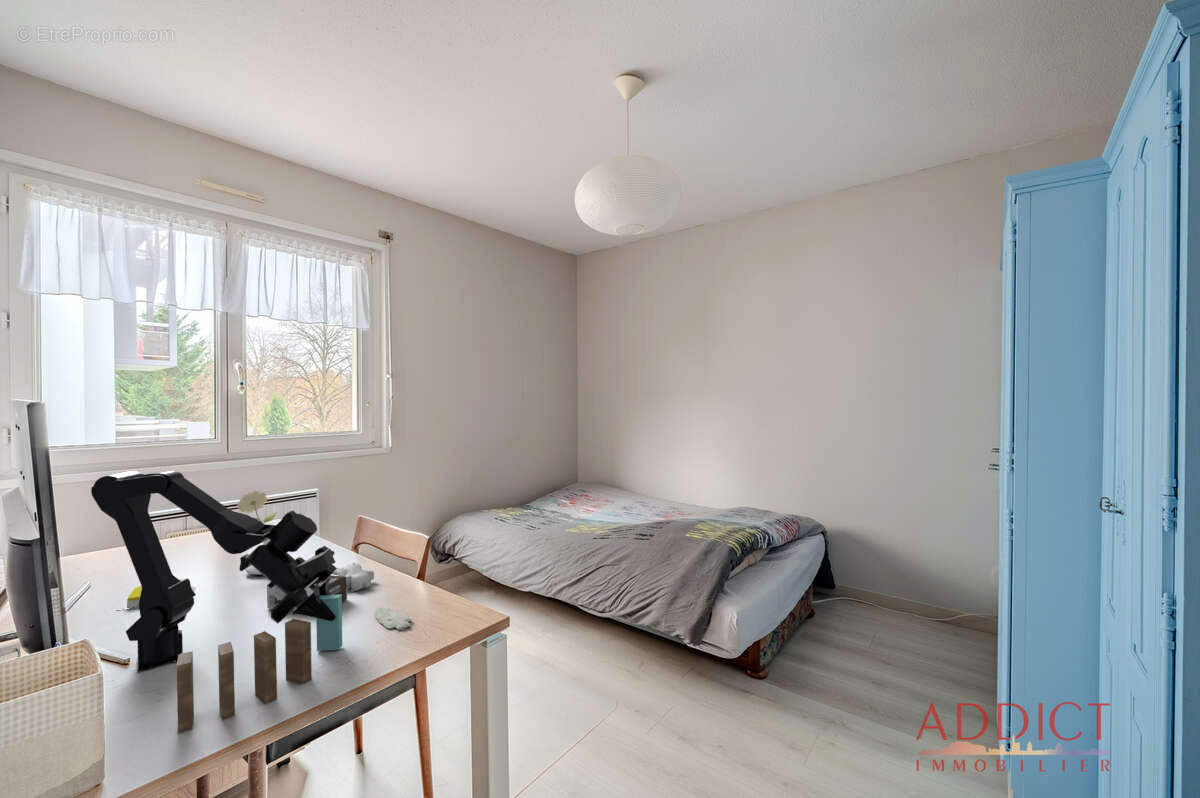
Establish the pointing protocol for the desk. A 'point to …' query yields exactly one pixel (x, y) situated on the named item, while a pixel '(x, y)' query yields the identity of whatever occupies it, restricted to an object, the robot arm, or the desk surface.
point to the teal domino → (330, 625)
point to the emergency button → (138, 597)
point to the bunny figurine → (355, 576)
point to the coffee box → (335, 584)
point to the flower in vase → (254, 503)
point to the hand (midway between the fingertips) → (336, 616)
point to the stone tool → (392, 618)
